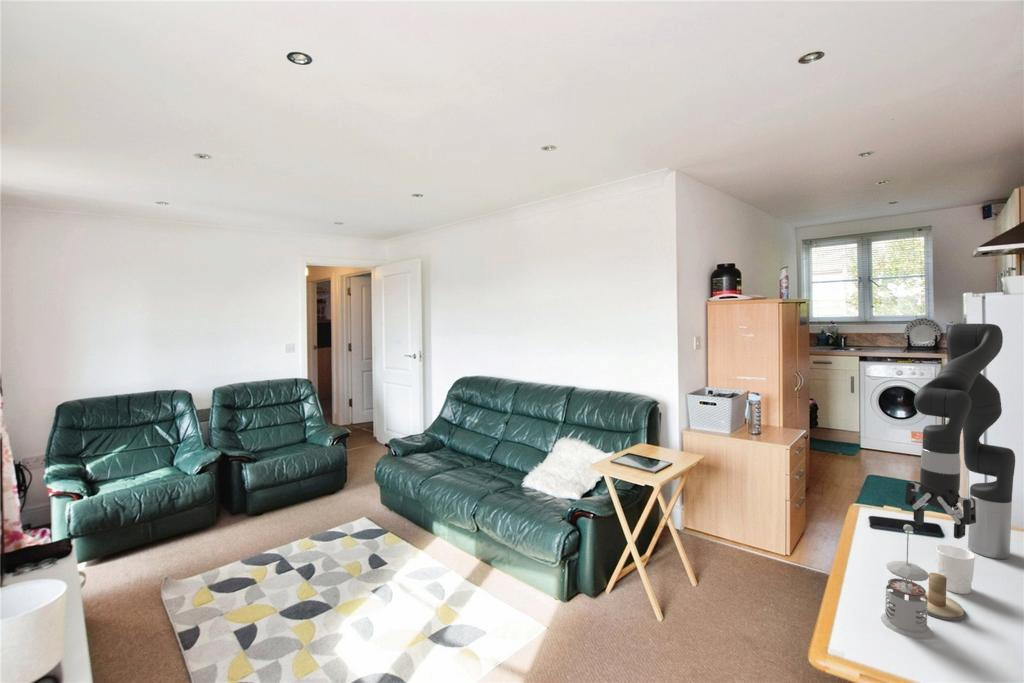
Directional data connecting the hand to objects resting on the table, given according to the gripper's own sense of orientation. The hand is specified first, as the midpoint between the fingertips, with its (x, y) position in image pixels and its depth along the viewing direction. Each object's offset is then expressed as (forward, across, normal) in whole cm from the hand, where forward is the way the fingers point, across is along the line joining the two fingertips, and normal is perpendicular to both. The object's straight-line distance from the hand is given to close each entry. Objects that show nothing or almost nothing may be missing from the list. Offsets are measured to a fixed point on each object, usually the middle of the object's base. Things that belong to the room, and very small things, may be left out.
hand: (938, 530), depth 124 cm
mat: (+20, 0, 0) cm, 20 cm away
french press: (+20, -1, +14) cm, 25 cm away
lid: (+20, 0, 0) cm, 20 cm away
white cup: (+20, +4, -14) cm, 25 cm away
